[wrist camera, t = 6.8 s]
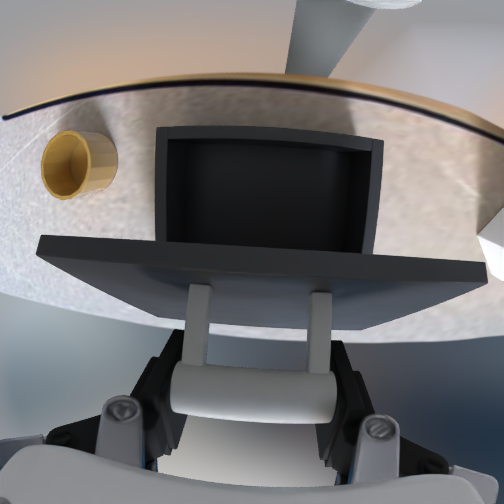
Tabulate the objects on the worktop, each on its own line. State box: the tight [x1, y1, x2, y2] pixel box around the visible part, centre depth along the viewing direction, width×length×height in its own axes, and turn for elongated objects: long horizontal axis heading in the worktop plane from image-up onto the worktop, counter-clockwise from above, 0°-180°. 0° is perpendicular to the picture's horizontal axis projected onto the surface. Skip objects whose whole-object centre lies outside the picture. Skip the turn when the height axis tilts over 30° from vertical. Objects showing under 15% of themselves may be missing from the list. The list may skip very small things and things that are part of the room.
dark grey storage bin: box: [155, 126, 384, 254], centre depth 23 cm, size 14×16×6 cm
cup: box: [41, 130, 118, 200], centre depth 24 cm, size 6×6×5 cm
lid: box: [36, 235, 488, 423], centre depth 14 cm, size 15×16×5 cm
